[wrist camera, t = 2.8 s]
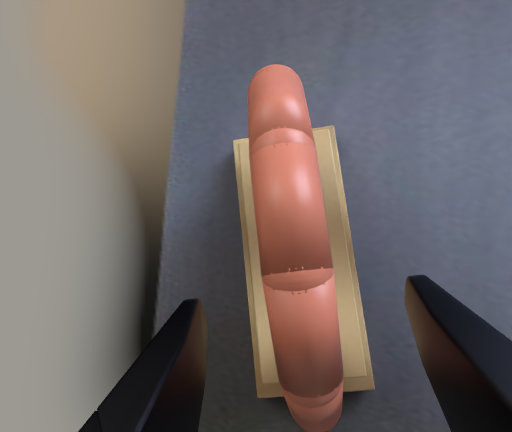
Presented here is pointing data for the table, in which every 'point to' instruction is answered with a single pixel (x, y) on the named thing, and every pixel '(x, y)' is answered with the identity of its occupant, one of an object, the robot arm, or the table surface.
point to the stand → (344, 268)
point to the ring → (294, 249)
